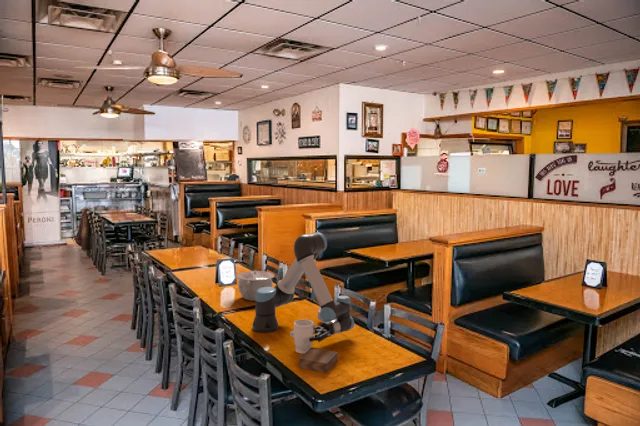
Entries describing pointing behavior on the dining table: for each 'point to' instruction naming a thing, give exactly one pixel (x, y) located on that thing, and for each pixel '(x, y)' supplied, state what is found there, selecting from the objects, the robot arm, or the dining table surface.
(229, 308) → the dining table surface
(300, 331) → the jar
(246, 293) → the chamber pot
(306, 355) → the walnut block
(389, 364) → the dining table surface
